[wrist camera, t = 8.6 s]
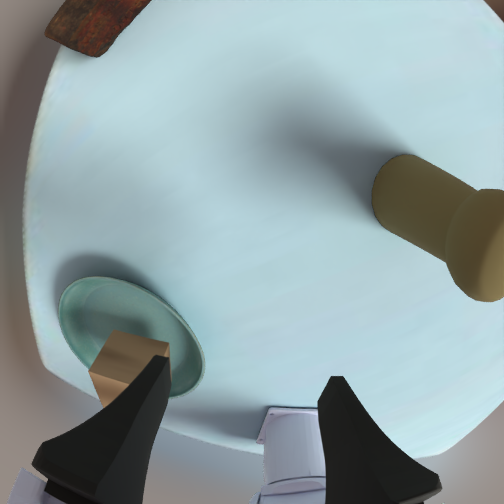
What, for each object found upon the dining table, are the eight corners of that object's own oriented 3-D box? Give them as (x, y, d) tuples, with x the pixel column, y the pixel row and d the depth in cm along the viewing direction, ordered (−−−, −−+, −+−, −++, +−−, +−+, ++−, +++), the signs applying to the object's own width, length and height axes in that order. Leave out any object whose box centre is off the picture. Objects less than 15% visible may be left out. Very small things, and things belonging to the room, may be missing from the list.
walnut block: (171, 380, 22) (158, 424, 18) (122, 367, 22) (103, 407, 18) (169, 342, 20) (151, 390, 16) (113, 329, 20) (88, 371, 16)
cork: (376, 147, 16) (493, 176, 6) (444, 162, 16) (556, 204, 6) (365, 231, 19) (447, 329, 8) (430, 237, 18) (519, 317, 8)
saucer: (52, 262, 21) (36, 275, 19) (196, 259, 20) (187, 276, 18) (100, 373, 27) (92, 388, 25) (219, 386, 26) (216, 406, 24)
